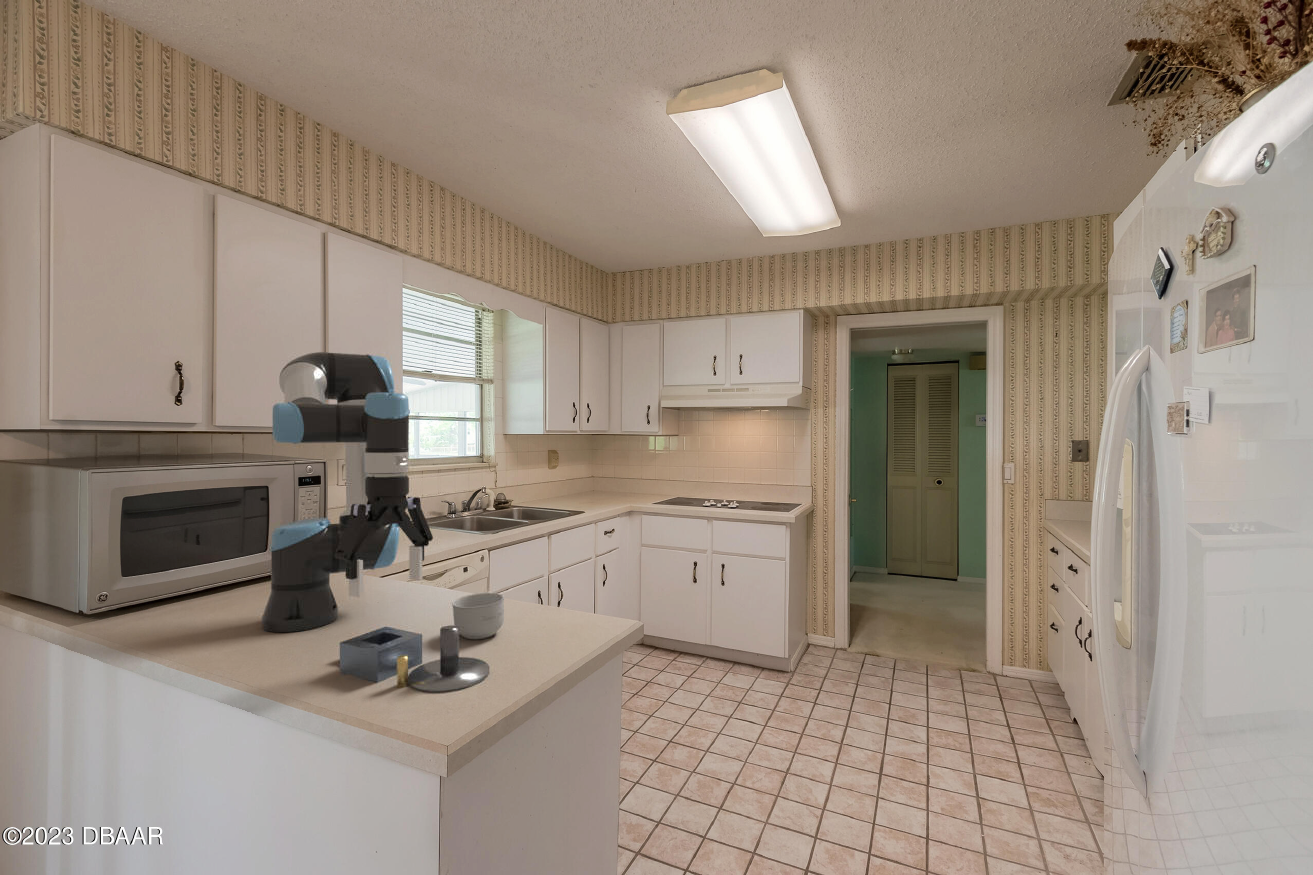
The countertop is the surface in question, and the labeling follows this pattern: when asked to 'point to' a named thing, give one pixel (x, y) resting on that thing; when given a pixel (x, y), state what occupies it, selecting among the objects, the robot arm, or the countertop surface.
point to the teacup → (479, 614)
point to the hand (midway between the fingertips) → (387, 587)
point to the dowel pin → (402, 670)
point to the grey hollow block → (379, 653)
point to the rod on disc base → (448, 667)
